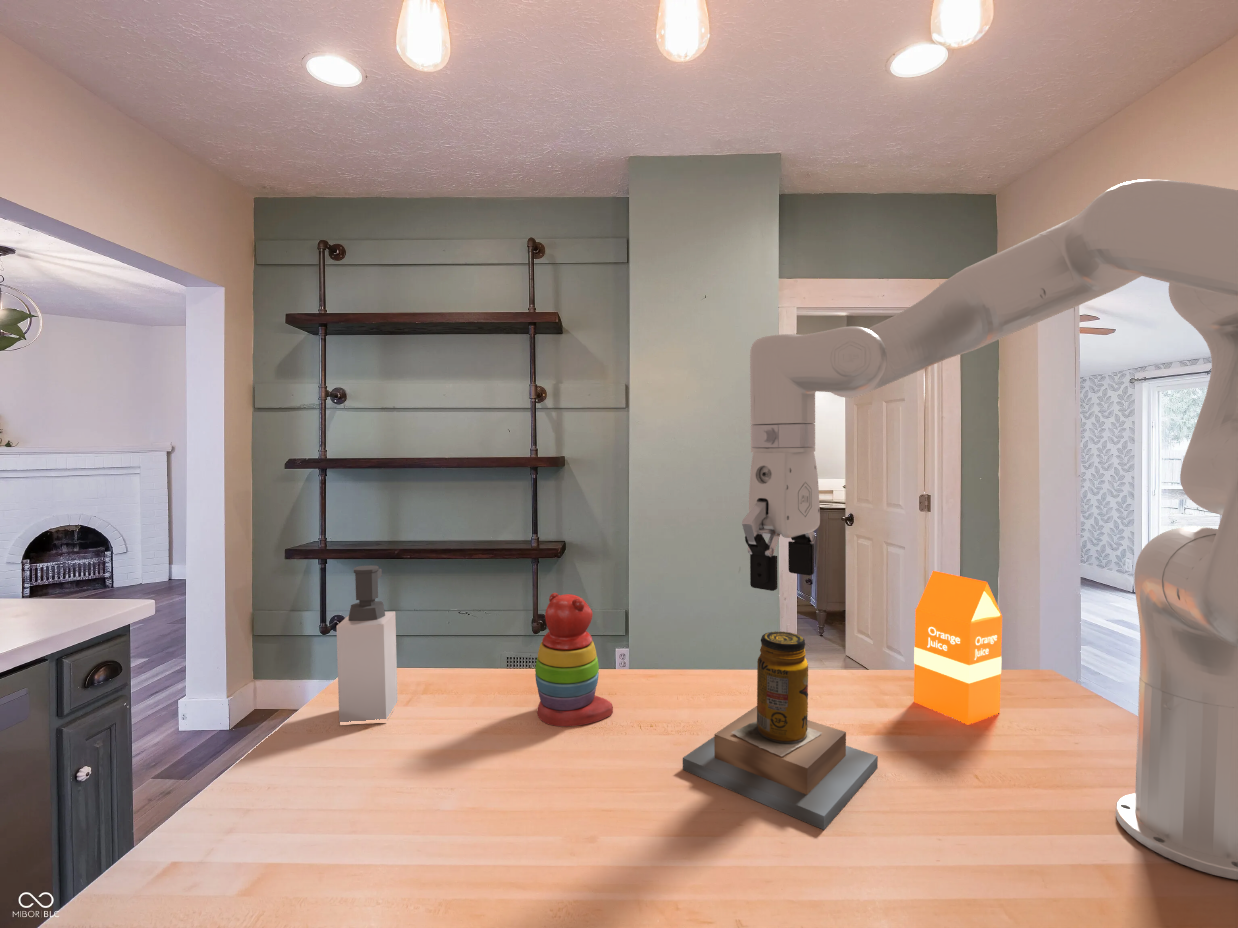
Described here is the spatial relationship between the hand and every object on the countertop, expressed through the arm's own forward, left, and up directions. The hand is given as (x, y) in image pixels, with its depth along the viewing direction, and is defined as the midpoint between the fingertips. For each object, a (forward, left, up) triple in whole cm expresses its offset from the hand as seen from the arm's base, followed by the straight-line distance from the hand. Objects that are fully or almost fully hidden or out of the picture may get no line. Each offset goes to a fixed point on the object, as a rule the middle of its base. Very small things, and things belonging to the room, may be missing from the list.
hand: (783, 580), depth 76 cm
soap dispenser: (+54, +25, -24) cm, 64 cm away
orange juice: (-12, -33, -24) cm, 42 cm away
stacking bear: (+31, +6, -24) cm, 40 cm away
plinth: (0, 0, -23) cm, 23 cm away
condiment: (0, +1, -19) cm, 19 cm away
